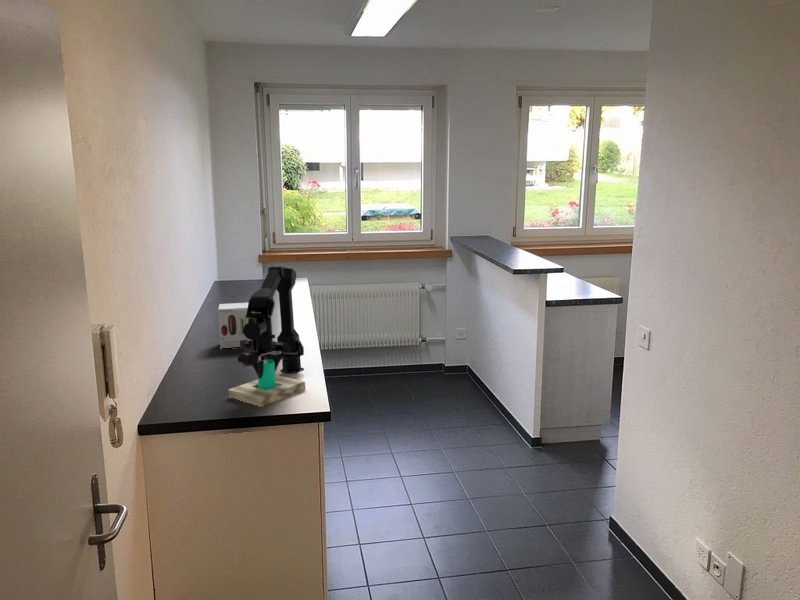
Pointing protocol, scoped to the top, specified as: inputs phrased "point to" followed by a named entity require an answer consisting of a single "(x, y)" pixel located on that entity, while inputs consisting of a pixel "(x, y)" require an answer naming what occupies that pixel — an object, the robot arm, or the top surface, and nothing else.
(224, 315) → the supplement box
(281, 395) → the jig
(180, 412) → the top surface
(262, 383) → the candle
